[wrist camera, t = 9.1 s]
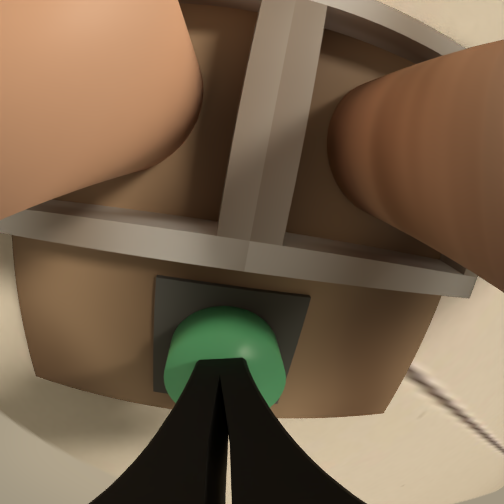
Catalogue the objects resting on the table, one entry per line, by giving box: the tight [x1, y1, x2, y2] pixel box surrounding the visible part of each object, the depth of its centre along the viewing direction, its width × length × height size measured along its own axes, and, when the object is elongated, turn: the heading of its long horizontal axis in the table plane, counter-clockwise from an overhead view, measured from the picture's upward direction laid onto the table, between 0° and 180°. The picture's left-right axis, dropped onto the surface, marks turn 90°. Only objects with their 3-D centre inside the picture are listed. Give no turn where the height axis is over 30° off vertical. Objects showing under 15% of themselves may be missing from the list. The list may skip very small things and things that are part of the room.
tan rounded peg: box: [0, 0, 204, 220], centre depth 5 cm, size 4×4×6 cm
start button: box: [164, 306, 286, 407], centre depth 9 cm, size 4×4×2 cm
